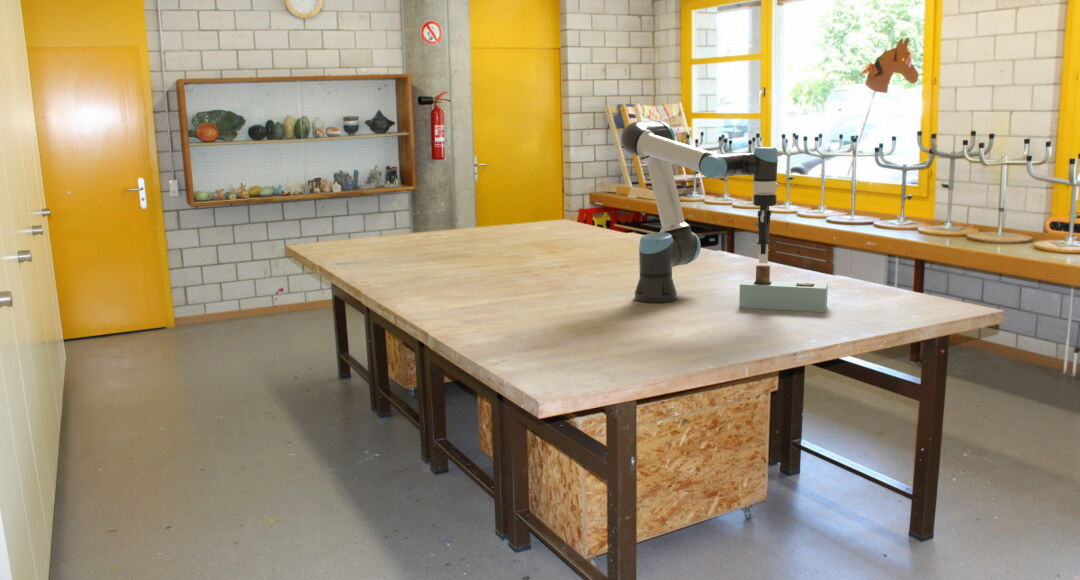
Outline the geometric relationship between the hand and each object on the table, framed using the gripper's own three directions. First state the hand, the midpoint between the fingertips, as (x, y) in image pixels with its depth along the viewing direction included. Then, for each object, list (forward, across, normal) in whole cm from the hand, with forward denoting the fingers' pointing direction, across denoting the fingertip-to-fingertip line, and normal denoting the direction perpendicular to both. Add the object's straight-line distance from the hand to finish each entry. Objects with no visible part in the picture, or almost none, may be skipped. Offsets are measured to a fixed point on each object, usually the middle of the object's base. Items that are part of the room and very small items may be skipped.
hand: (763, 262), depth 304 cm
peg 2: (+15, 0, -14) cm, 20 cm away
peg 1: (+9, 0, 0) cm, 9 cm away
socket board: (+15, 0, -7) cm, 17 cm away
